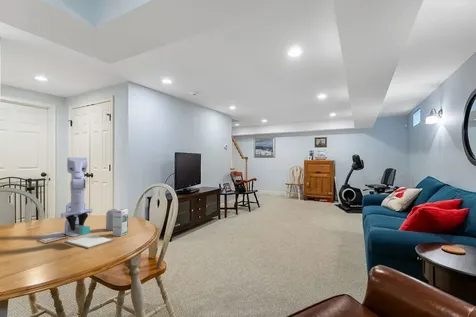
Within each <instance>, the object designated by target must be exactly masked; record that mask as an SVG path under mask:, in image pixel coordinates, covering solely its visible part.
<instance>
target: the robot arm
mask: <svg viewBox="0 0 476 317" xmlns="http://www.w3.org/2000/svg"><path fill="white" fill-rule="evenodd" d="M66 162H67V163H66V164H67V165H66V167H67V170H66V171H67V173H69V174H70V175H71V178H70V184H69V186H70V187H69V188H70V194H71V195H70V202H68V203H67V204H66V208H65V212H61V213H60V218H62V219H64V218H65V219H66V220H65V221H64V232H63V233H62V235H64V234H66V235H65V236H69V237H71V238H72V237H76V236H80V235H79V234H75V233H71V232H68V225H70V228H71V230H73V231H74V230H75V224H79V225H84V226H85V223H86V220H87V218H88V217H89V214H92V213H93V208H87V204H86V202H85V190H86V188H87V187H86V186H87V185H86V184H87V182H86V181H87V180H86V178H85V173H86V172H87V168H88V158H87V157H70V156H69V157H67V161H66Z"/></svg>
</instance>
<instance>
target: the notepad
mask: <svg viewBox="0 0 476 317" xmlns="http://www.w3.org/2000/svg"><path fill="white" fill-rule="evenodd" d="M114 241H115V239H112V238H107V237H103V236H99V235H95V234H86V235H82V236H81V237H76V238H72V239H69V240H65V241H64V243H65V244H69V245H73V246H76V247H80V248H84V249H87V250H88V249H92V248H95V247H99V246H102V245H106V244H108V243H112V242H114Z"/></svg>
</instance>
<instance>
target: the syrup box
mask: <svg viewBox="0 0 476 317" xmlns="http://www.w3.org/2000/svg"><path fill="white" fill-rule="evenodd" d="M116 209H117V208H116ZM128 234H129V209H128V208H118V209H117V210H113V231H112V236H114V237H122V236H125V235H128Z"/></svg>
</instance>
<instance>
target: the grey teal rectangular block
mask: <svg viewBox="0 0 476 317" xmlns="http://www.w3.org/2000/svg"><path fill="white" fill-rule="evenodd" d="M90 230H91V226H89V225H85V224H84V225H79V224H75V230H74V231H73V230H71V228H70V225H68V232H71V233H75V234H79V235H78V236H87V235H91V233H90V232H91V231H90Z"/></svg>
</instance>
